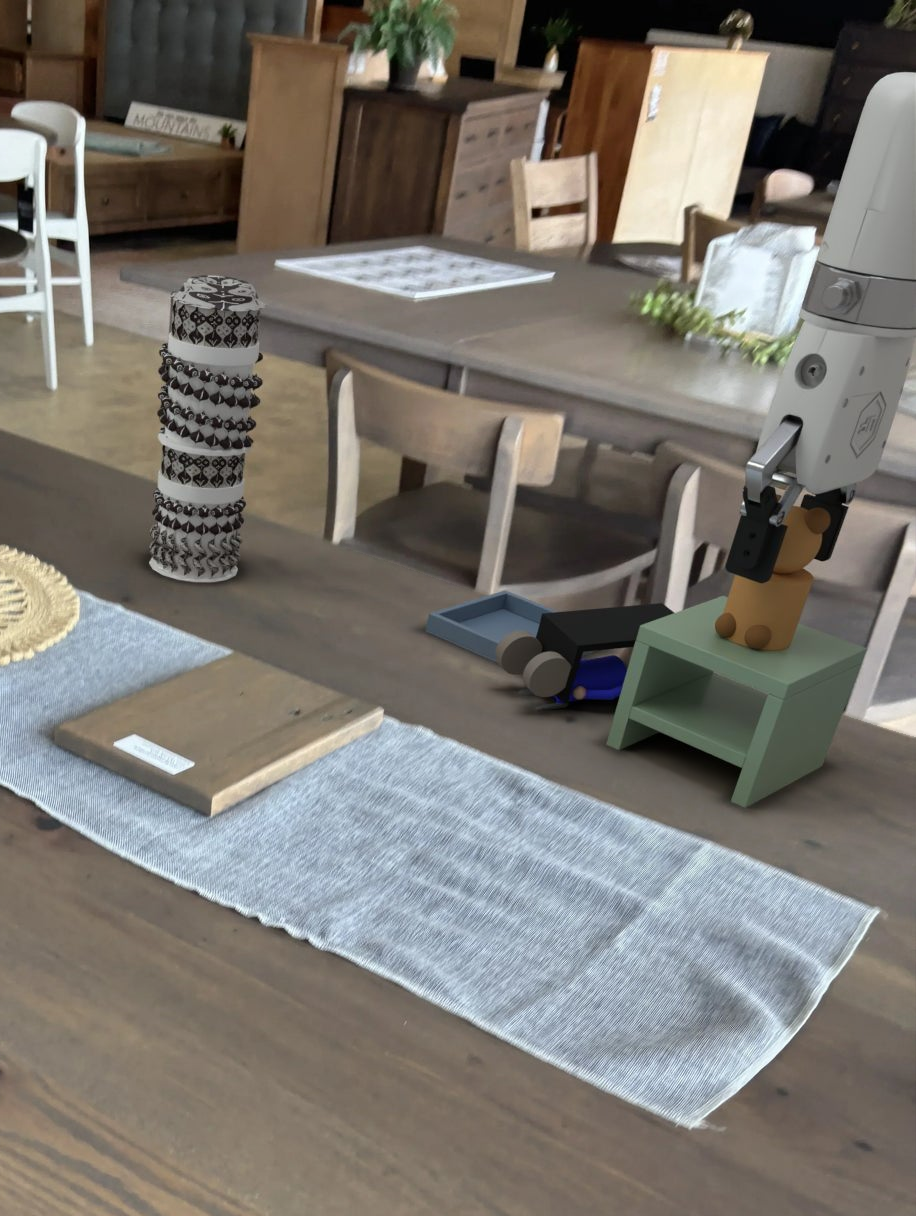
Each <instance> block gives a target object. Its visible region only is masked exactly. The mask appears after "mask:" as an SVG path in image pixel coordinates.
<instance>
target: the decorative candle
mask: <svg viewBox="0 0 916 1216" xmlns="http://www.w3.org/2000/svg"><path fill="white" fill-rule="evenodd" d="M170 297H171V298H172V300H173V301H172V313H171V326H170V330H171V331H170V332H169V333H168V339H167V342H166V343H162V345H161V348H160V349H159V350H158V354H159V356H160V358H162V362H161V366H159V367H158V369H157V373H158V375H160V379H161V381H162V382H164V383H165V384H162V385H161V387H160V391H159V392H158V393H157V398H158V399H159V400H160V408H159V409H158V410H157V412H156V414H157V417H159V418H158V420H159V421H158V422H160V424H162V425H161V427H160V431H159V432H158V433H157V434H158V435H157V439H158V441H159V442H160V444H162V447H161V459H160V460H161V462H160V469H159V471H158V476H157V487H156V489H155V491H153V493H152V497H153V499H154V502H155V503H156V505H155V506H154V508H153V509H152V511H151V514H152V516H153V518H154V520H155V521H156V522H155V523H154V524H153V525H152V526H151V528H150V530H149V536H150V537H151V538H152V542H151V543H150V544H149V547H148V552H149V554H150V555H151V558H150V560H149V562H148V563H149V566H150V567H151V569H152V570H153V571H155V572H157V573H158V574H160V575H161V576H165V577H167V578H170V579H175V580H177V581H183V582H191V583H217V582H222V581H227V580H229V579H232V578H233V577H236V575H237V574H238V570H239V568H238V567H237V565H238V564H239V561H240V560H241V554H240V553H239V549H240V547H241V544H243V538H242V537H241V532H240V531H239V529H241V528H242V525H244V523H245V519H244V517H243V514H242V512H243V511H244V509H245V508H246V506H247V501H246V500H245V498H244V496H243V495H244V491H245V482H246V478H245V477H244V469H245V464H246V458H245V457H246V453H248V452H250V451H251V448H252V446H253V444H254V443H255V441H254V439H253V438H252V437H250V435H248V433H249V432H251V431H253V430H254V429H255V428H256V427H257V422H256V420H255V419H254V418H252V416H249V415H250V410H251V409H253V408H256V407H257V406H259V405H260V403H261V399H260V397H259V396H257V395H256V393H255V391H256V390H257V389H259V388H260V387H261V386H263V384H264V383H263V382H264V380H263V379H262V377H260V376H259V375H258V374H257V372H256V373H255V374H254V367H255V366H257V364H258V363H260V362H262V361H263V359H264V356H263V353H262V352H260V341H259V332H260V325H261V312H262V310H263V309H265V308H266V306H267V304H266V303H264V301H262V300H260V298H259V296H258V293H257V291H256V288H255V287H254V286H253V284H251V283H250V282H248V281H246V280H243V279H241V278H237V277H236V278H235V277H232V276H231V277H229V276H222V275H210V274H207V275H206V274H202V275H194V276H191V277H189V278H188V279H187V280H186V281H185V282H184V283H183V285H182V286H181V288H180V289H179V291H177V292H173V293H172V295H170ZM254 365H255V366H254ZM253 392H254V393H253Z"/></svg>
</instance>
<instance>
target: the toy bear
mask: <svg viewBox="0 0 916 1216" xmlns="http://www.w3.org/2000/svg"><path fill="white" fill-rule="evenodd" d="M776 496H777V502H779V500H780V498H781V497H782V495H781V494H777V493H776ZM782 524H783V525H786V526H788V528H787V531H786V534H785V537H784V540H783V543H782V546H781V549H780V552H779V555H778V558H777V561H776V564H775V567H774V570H773V573H772V576H771V578H770V580H769V581H768V582H765V583H758V582H755V581H752V580H750V579H747V578H744V577H741V576H738V575H736V574H734V577H733V580H732V583H731V587H730V590H729V593H728V595H727V597H728V599H727V602H726V605H725V608H724V611H723V614H722V615H721V616H719V617H718V619H717V620H716V623H715V630H716V632H717V634H718V635H719V636H721V637H723V638H726V639H728V640H730V641H732V642H734V643H737V644H739V645H742V646H746V647H749V648H752V649H760V650H783V649H786V648H788V647H789V646H790V645H791V642H792V639H793V637H794V634H795V631H796V628H797V625H798V623H800V619H801V616H802V614H803V611H804V609H805V605H806V603H807V599H808V596H809V594H810V591H811V588H812V585H813V583H814V579H815V577H814V575H813V574H812V573H811V572H809V571H808V570H807V569H805V568H806V567H807V566H808V565H809V564H810V563H811V562H812V561H813V560H815V559H814V558H815V556H816V555H817V553H818V551H819V549H820V546H821V542H822V533H823V532H824V531H825V530H826V529H827V528H828V527H829V524H830V515H829V513H828V512H827V511H826V510H825V509H823V508H813V509H811V510H809V511H808V510H806V509H804V508H802V507H800V506H799V505H798V506H797V505H793V506H792V508H791V510H790V511H789V513H788V515H787V516H786V518H785V520H784V521H783V523H782Z"/></svg>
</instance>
